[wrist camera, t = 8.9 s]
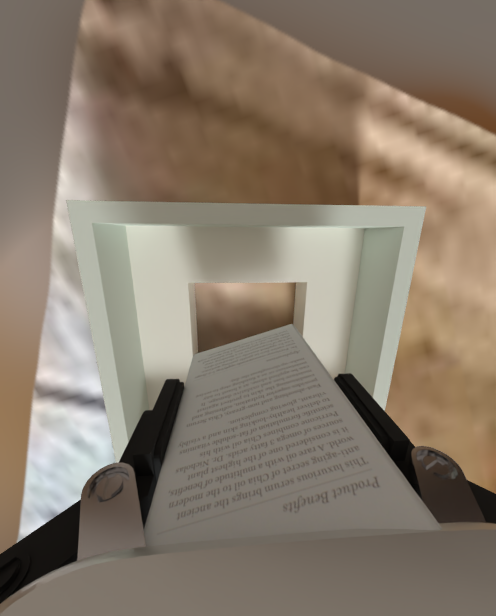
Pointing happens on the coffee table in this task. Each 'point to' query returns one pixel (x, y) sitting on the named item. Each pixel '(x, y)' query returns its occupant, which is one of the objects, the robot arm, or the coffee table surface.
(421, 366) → the coffee table surface
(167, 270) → the peg box
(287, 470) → the skincare box
